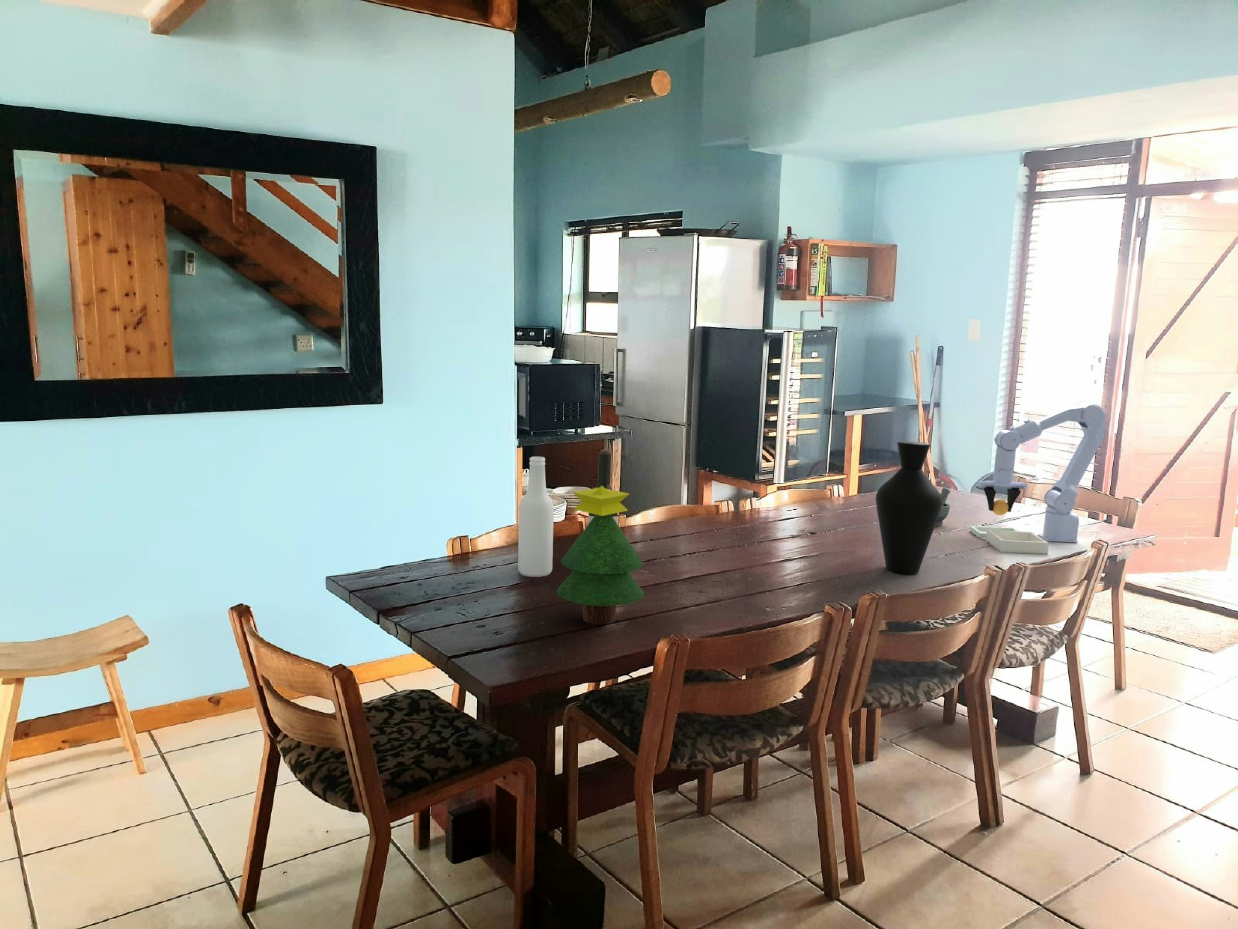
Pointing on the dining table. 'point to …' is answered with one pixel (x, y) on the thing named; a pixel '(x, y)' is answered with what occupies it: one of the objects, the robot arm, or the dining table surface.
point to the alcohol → (536, 524)
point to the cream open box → (1017, 542)
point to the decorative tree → (601, 560)
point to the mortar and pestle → (943, 507)
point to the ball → (1000, 507)
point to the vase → (907, 511)
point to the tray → (982, 531)
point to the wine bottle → (603, 477)
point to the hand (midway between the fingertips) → (999, 510)
